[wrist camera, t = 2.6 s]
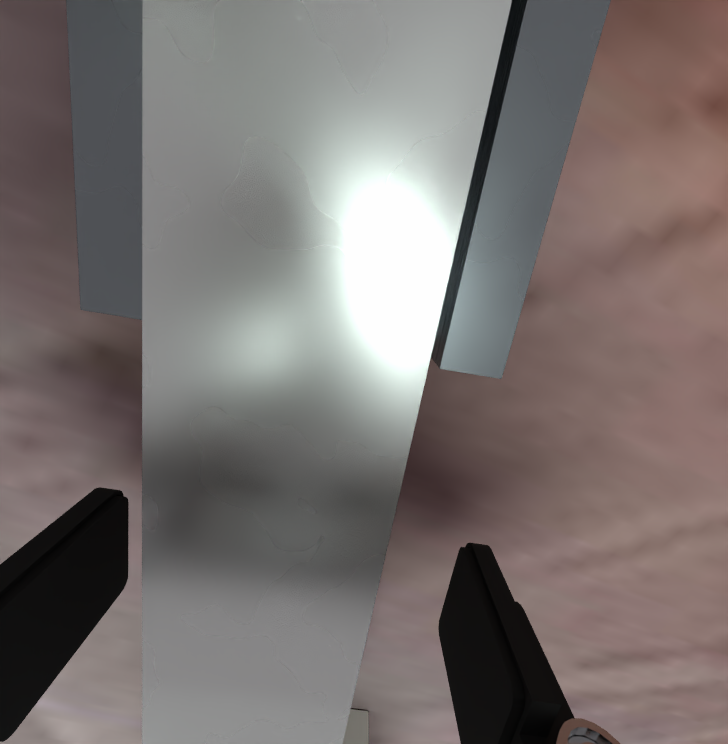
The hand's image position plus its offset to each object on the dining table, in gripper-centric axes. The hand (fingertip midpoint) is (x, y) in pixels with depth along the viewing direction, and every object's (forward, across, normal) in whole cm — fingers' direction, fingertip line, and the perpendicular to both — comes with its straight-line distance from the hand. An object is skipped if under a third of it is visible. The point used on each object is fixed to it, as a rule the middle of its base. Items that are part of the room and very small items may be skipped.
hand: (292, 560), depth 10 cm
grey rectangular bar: (+2, 0, -3) cm, 4 cm away
